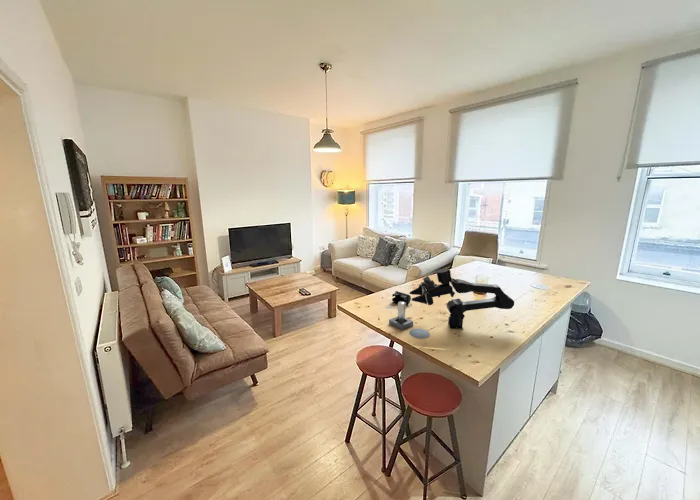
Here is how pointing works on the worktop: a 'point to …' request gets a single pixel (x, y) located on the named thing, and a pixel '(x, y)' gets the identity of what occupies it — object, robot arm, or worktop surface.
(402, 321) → the steel peg
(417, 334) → the rubber pad
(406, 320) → the socket block
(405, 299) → the end cap
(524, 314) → the worktop surface
